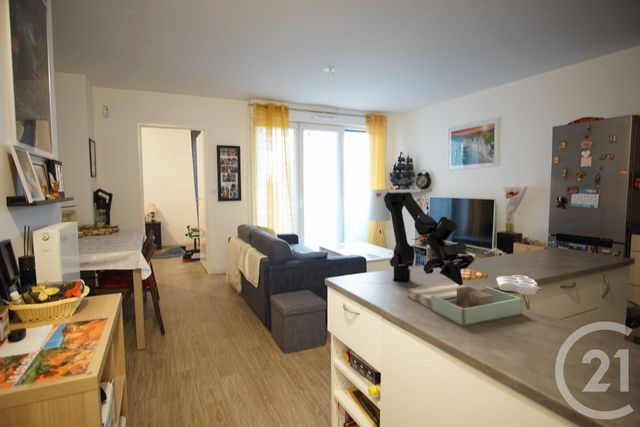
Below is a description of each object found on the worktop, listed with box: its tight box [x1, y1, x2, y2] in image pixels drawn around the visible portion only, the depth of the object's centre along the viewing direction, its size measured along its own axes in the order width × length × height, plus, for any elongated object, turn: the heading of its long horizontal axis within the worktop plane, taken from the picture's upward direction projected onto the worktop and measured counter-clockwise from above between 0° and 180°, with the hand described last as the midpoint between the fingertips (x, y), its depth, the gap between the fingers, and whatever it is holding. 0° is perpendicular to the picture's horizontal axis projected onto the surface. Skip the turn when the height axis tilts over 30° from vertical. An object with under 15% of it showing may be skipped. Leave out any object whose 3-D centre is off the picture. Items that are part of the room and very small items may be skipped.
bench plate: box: [407, 281, 468, 309], centre depth 120 cm, size 14×22×3 cm, turn 111°
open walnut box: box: [457, 286, 493, 309], centre depth 107 cm, size 6×5×10 cm
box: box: [430, 286, 523, 327], centre depth 107 cm, size 14×24×5 cm, turn 111°
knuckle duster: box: [495, 274, 542, 296], centre depth 131 cm, size 3×18×15 cm
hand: (461, 284), depth 112 cm, fingers closed
